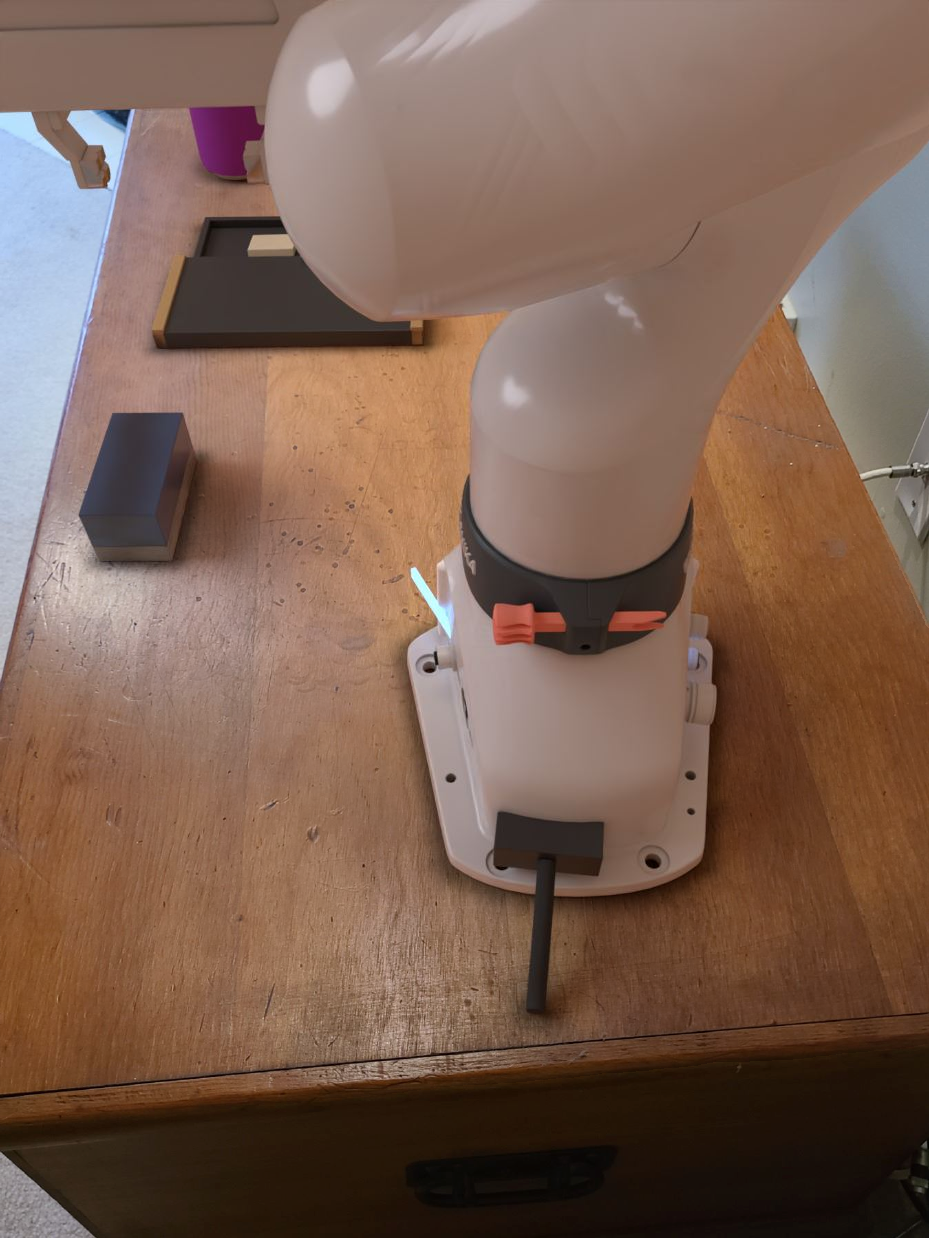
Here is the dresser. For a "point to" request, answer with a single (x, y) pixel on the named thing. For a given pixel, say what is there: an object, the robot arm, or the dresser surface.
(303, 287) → the slate board
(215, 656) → the dresser surface
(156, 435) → the eraser
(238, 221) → the tray
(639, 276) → the robot arm
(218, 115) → the beverage can
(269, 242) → the chalk tile
